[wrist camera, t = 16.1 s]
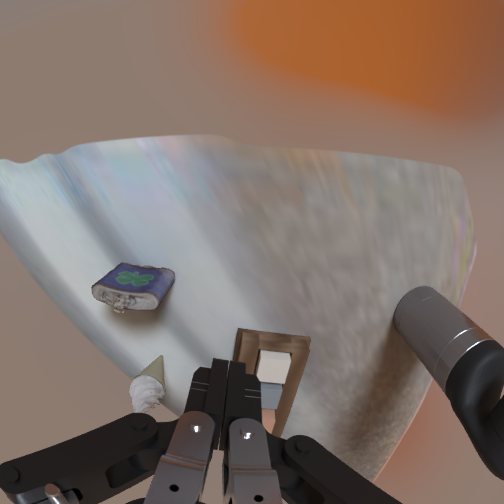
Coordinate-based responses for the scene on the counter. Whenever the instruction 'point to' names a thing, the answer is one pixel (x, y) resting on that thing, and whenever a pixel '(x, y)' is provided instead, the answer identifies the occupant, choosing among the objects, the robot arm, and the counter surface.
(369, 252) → the counter surface
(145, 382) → the ice cream cone
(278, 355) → the ivory key
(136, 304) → the flask
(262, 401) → the slate key
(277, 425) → the brown wooden tray
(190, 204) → the counter surface
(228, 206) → the counter surface
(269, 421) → the terracotta key
